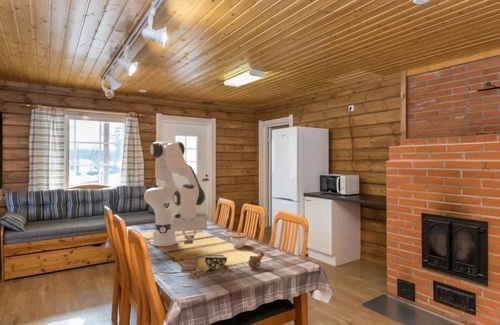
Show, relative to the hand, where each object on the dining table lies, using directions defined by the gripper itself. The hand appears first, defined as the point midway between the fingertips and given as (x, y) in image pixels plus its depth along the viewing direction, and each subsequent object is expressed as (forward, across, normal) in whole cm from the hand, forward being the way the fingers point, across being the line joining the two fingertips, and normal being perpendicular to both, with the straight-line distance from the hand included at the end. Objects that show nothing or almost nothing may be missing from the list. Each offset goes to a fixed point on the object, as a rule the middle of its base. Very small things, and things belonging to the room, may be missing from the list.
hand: (189, 238), depth 173 cm
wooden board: (+14, 0, +2) cm, 14 cm away
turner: (+1, 0, +2) cm, 3 cm away
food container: (+12, -13, +3) cm, 18 cm away
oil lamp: (+14, -36, +13) cm, 41 cm away
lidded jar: (+14, -30, -28) cm, 43 cm away
